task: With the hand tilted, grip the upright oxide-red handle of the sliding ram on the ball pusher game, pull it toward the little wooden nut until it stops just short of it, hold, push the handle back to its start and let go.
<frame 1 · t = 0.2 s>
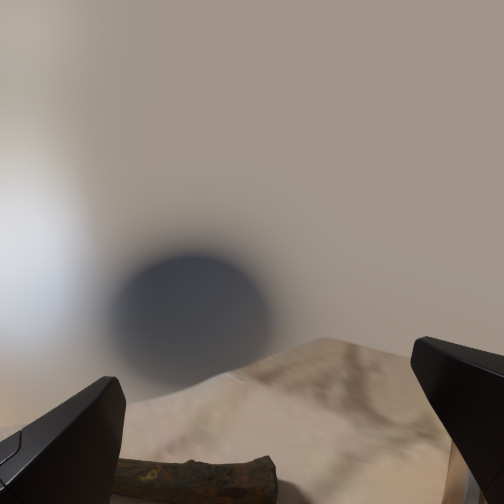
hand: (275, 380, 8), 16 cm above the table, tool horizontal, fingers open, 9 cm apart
ball pusher game: (489, 461, 13), on the table
dark brown bar: (155, 498, 16), on the table
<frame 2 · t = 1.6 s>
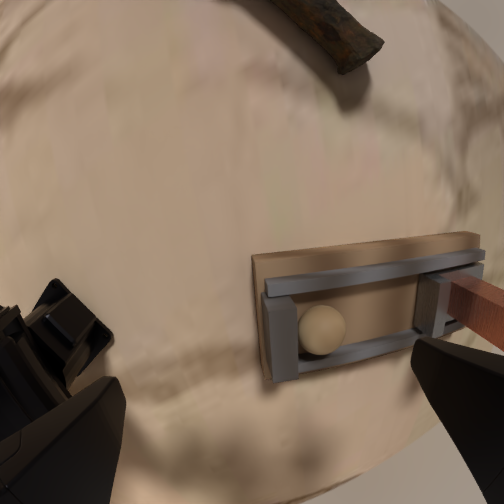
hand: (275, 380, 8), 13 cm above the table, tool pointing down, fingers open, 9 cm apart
ball pusher game: (437, 283, 23), on the table
nut: (314, 319, 20), point 2 cm above the table, touching ball pusher game
lever: (482, 311, 16), point 7 cm above the table, slide at 0.0 cm
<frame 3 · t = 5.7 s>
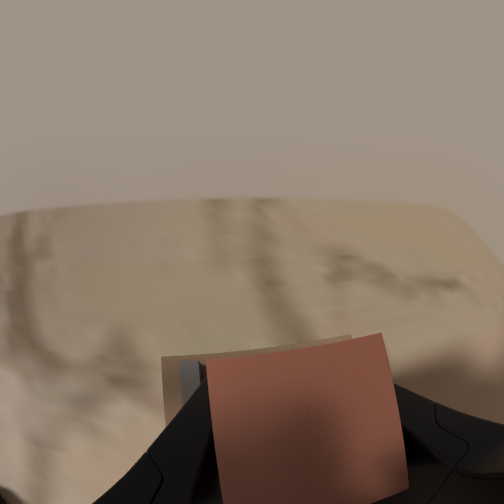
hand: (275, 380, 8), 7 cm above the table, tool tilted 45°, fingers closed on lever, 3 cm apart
ball pusher game: (265, 422, 13), on the table
lever: (283, 446, 7), point 7 cm above the table, slide at 0.0 cm, touching gripper
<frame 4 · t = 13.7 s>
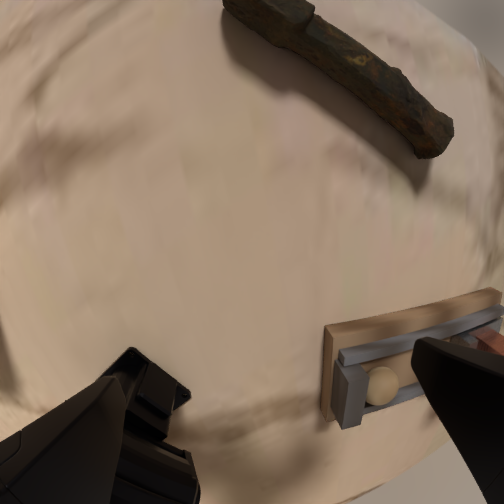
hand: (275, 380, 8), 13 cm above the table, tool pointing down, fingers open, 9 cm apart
ball pusher game: (463, 331, 24), on the table
nut: (371, 375, 21), point 2 cm above the table, touching ball pusher game
lever: (499, 362, 18), point 7 cm above the table, slide at 0.0 cm
dark brown bar: (329, 74, 18), on the table
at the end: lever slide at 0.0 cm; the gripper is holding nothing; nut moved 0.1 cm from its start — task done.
